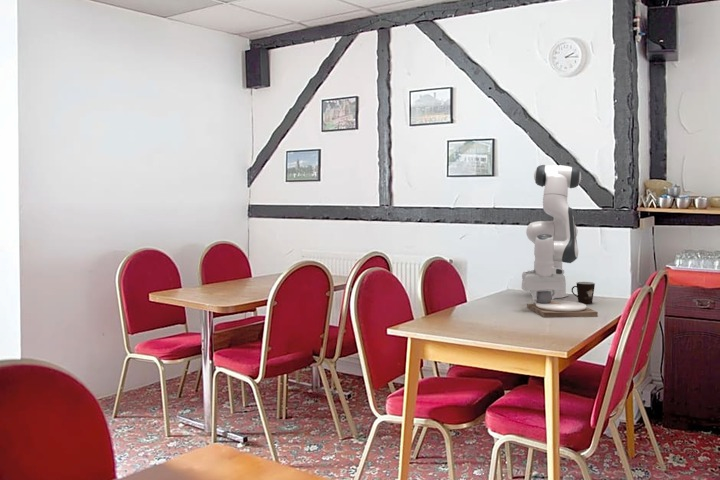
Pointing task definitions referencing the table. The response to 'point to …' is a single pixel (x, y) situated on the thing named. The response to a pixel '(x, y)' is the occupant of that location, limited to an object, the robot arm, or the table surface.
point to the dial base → (562, 312)
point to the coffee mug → (585, 292)
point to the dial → (556, 303)
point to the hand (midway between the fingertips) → (543, 299)
